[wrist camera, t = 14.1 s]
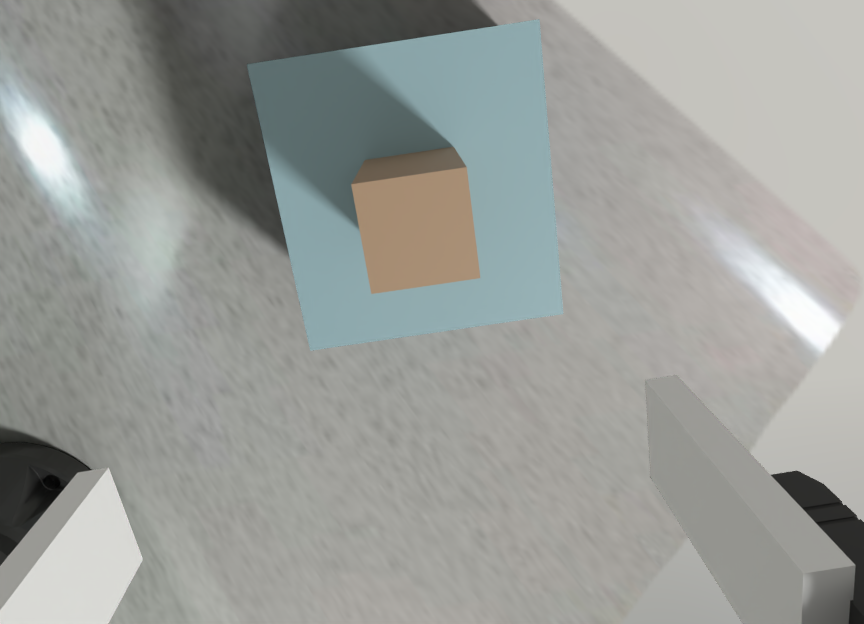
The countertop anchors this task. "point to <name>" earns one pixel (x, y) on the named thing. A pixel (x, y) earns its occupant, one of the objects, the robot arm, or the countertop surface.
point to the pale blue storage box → (414, 183)
